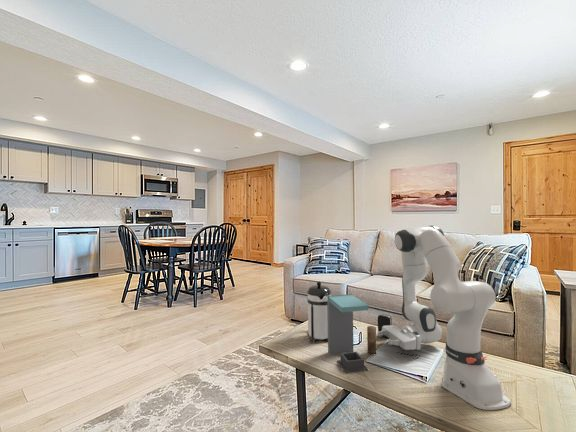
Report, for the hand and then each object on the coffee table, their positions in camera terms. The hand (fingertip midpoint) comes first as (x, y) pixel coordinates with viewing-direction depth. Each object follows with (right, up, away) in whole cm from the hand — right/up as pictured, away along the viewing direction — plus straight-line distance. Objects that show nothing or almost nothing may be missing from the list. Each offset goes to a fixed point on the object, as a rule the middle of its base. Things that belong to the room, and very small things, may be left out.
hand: (383, 338), depth 140 cm
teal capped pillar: (-19, -7, -8) cm, 21 cm away
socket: (-18, -7, -13) cm, 23 cm away
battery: (+7, -6, +18) cm, 20 cm away
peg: (-6, -7, -1) cm, 9 cm away
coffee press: (-29, -7, +17) cm, 35 cm away
